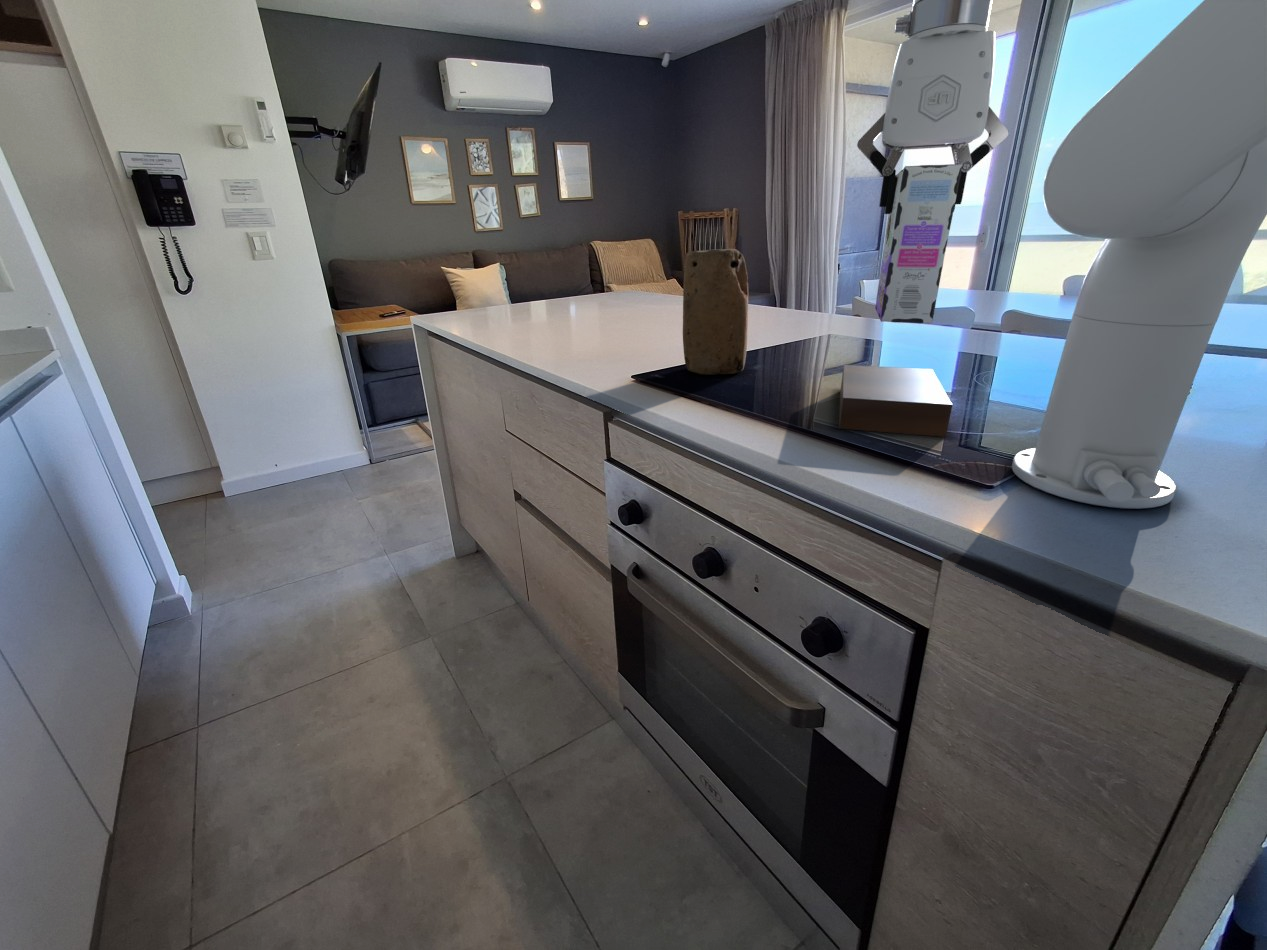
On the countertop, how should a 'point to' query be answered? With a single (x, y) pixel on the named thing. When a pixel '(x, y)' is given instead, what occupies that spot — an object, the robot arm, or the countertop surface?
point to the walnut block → (893, 400)
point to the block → (715, 311)
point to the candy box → (916, 242)
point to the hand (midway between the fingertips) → (918, 211)
